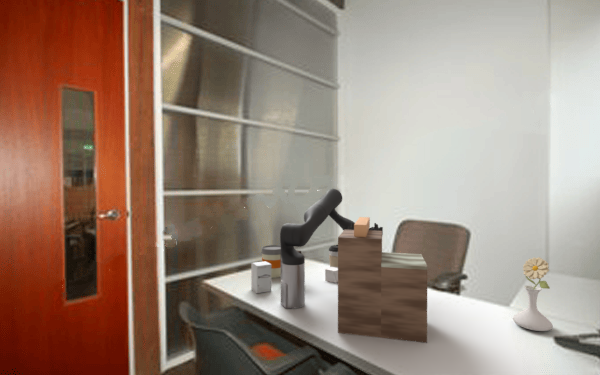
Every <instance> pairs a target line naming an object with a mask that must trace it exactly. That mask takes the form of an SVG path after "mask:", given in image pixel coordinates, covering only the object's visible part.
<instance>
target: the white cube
mask: <svg viewBox="0 0 600 375" xmlns="http://www.w3.org/2000/svg"><path fill="white" fill-rule="evenodd" d="M324 270H325V271H324V275H325V276H324V279H325V280H324V282H325V281H326V282H329V281H330V282H329V283H333V282H335V283H334V284H336V283H338V268H335V267H330V266H329V267H328V268H325V269H324Z"/></svg>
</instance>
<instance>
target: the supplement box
mask: <svg viewBox="0 0 600 375" xmlns="http://www.w3.org/2000/svg"><path fill="white" fill-rule="evenodd" d="M250 267H251V278H250V279H251V281H250V282H251V290H252V291H253V292H254V293H255V294H260V293H266V292H272V278H271V264H270V263H268V262H266V261H264V262H262V261H259V262H258V261H256V262H251V266H250Z"/></svg>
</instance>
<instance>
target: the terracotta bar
mask: <svg viewBox="0 0 600 375" xmlns="http://www.w3.org/2000/svg"><path fill="white" fill-rule="evenodd" d="M370 218H371V217H369V216H368V217H367V216H366V217H365V216H359V217H358V219H357V220H356V221H355V224H354V236H355V237H366V236H367V233H368V230H369V228H371V227H370V224H371V223H370V221H371V219H370Z"/></svg>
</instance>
